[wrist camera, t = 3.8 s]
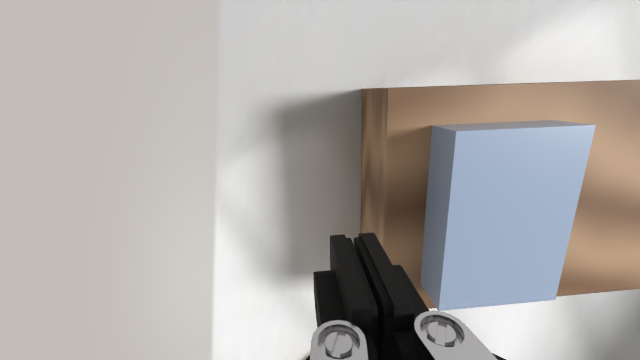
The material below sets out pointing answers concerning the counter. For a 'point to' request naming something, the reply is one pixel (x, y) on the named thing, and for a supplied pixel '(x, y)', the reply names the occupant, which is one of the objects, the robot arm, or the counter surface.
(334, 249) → the robot arm
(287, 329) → the counter surface
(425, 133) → the brown wooden block
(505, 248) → the pale blue upright block
